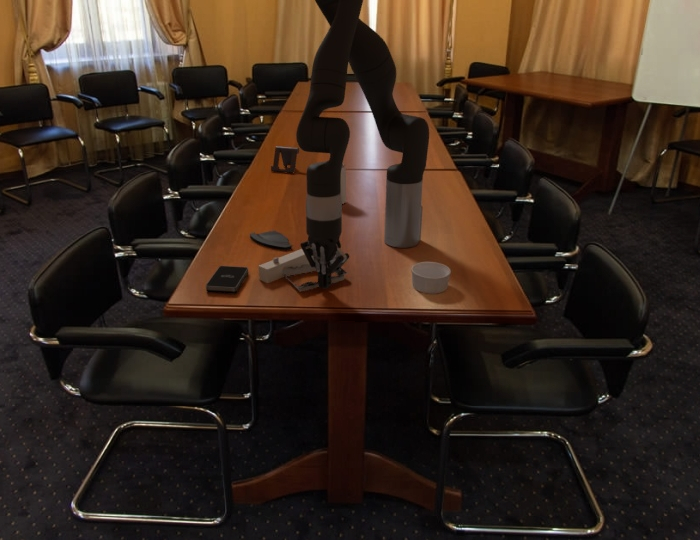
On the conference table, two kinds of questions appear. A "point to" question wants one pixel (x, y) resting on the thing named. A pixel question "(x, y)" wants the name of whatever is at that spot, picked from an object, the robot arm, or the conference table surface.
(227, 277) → the external hard drive
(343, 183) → the can
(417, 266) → the ramekin
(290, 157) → the portable electronic device stand
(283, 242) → the fan shaped piece
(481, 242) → the conference table surface
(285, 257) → the grey toothed bar
